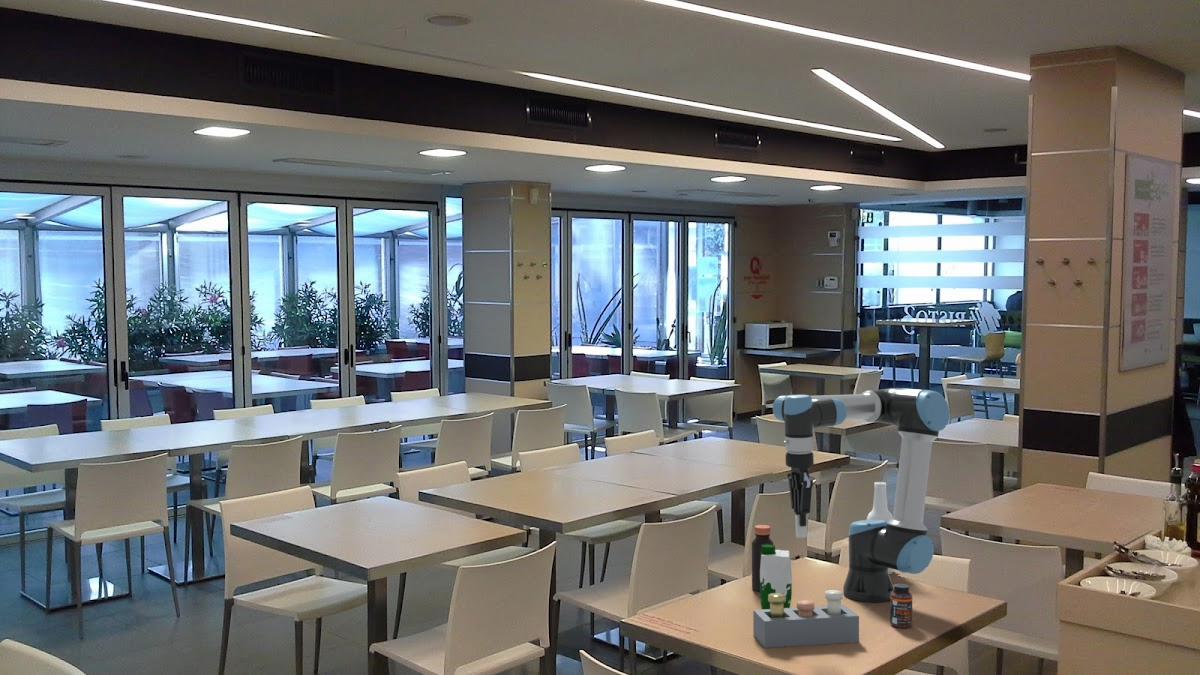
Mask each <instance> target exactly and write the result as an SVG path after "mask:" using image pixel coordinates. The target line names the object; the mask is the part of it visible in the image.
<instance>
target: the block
mask: <svg viewBox="0 0 1200 675" xmlns="http://www.w3.org/2000/svg"><path fill="white" fill-rule="evenodd" d="M752 615H753V622H752V623H753V625H752V626H753V627H752V628H753V631H752V632H753V634H752V635H753V637H754V638H755V637H756V638H757V639H756V638H755V639H756V640H757V641H758V642H759V643H760V644H761V645H762V647H763V648H765V649H769V647H770V648H782V647H783V648H785V647H784V646H786V647H800V646H801V647H803V646H814V645H815V646H816V645H817V646H818V645H832V644H833V645H834V644H846V643H847V644H848V643H849V644H850V643H859V642H860V615H858V614H857V613H856V612H855V611H853V610H852V609H851V608H849V607H848V606H847V605H845V604H841V614H836V615H827V605H822V606H821V605H819V606H818V605H817V606H814V610H812V616H802V617H799V610H798V609H797V607H790V608H784V618H770V609H763V610H762V609H753V614H752Z"/></svg>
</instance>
